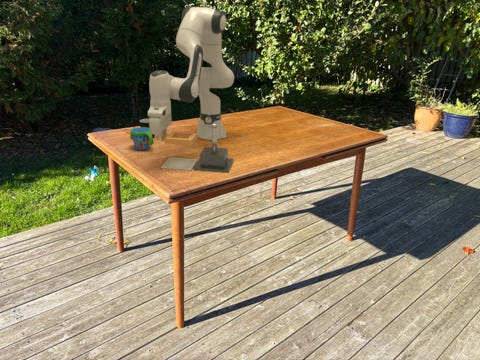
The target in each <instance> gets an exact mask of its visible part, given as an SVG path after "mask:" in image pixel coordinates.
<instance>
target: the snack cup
mask: <svg viewBox="0 0 480 360" xmlns="http://www.w3.org/2000/svg"><path fill="white" fill-rule="evenodd" d="M129 133H130V137H129V138H130V140H131V141H132V142H133V146H134V149H135V150H137V151H147V150H149V149H150V148H151V146H153V145H154V144H155V143H154V139H153V137H152V134H151V132H150V128H146V127H140V126H139V127H134V128H131V129H130V130H129Z"/></svg>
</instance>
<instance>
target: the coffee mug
mask: <svg viewBox="0 0 480 360" xmlns="http://www.w3.org/2000/svg"><path fill="white" fill-rule="evenodd" d="M136 125H138V126H139V127H146V128H150V126H149V118H143V119H140V120H139V123H137V122H136V123H133V125H132V127H133V128H135V126H136ZM133 128H132V129H133ZM152 137H153V138H154V139H155V134H152Z"/></svg>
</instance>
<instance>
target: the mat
mask: <svg viewBox="0 0 480 360" xmlns="http://www.w3.org/2000/svg"><path fill="white" fill-rule="evenodd" d="M198 160H199V159H198V158H197V159H196V158H183V157H173V156H170V157H169V158H167V160H166V161H164V163H163V164H162V165H161V166H160V169H164V170H176V171H188V172H191V171H192V170H193V169H194V166H195V165H196V163H197V162H198Z"/></svg>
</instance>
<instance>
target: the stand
mask: <svg viewBox="0 0 480 360" xmlns="http://www.w3.org/2000/svg"><path fill="white" fill-rule="evenodd" d="M211 126H212V140H211V146H204V148H203V149H202V151H200V153H199V159H198V161H197V162H196V164H195V165H194V167H193V171H200V172H212V173H215V172H216V173H224V174H225V173H226V174H229V172H230V171H231V168H232V165H233V162H234V158H230V157H229V154H228V153H229V148H228V147H227V148H226V147H218V139H217V126H218V124H217V123H212V124H211Z"/></svg>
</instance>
